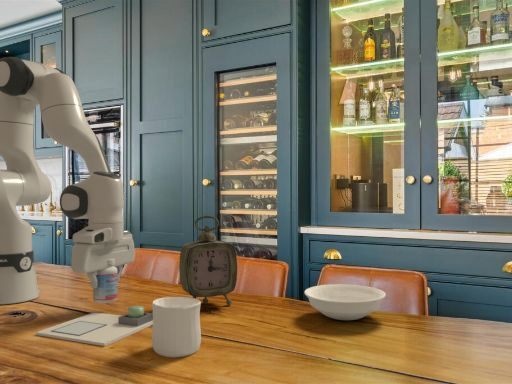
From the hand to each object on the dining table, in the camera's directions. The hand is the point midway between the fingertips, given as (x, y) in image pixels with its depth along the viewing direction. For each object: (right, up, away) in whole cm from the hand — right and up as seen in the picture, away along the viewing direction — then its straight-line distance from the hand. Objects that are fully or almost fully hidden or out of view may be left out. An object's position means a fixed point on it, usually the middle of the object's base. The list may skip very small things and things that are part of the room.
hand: (105, 284), depth 122 cm
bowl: (+62, -7, -8) cm, 63 cm away
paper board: (+3, -7, -15) cm, 17 cm away
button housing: (+11, -7, -12) cm, 18 cm away
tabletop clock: (+27, -7, +6) cm, 28 cm away
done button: (+11, -6, -12) cm, 17 cm away
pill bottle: (0, -5, 0) cm, 5 cm away
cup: (+24, -7, -29) cm, 39 cm away
